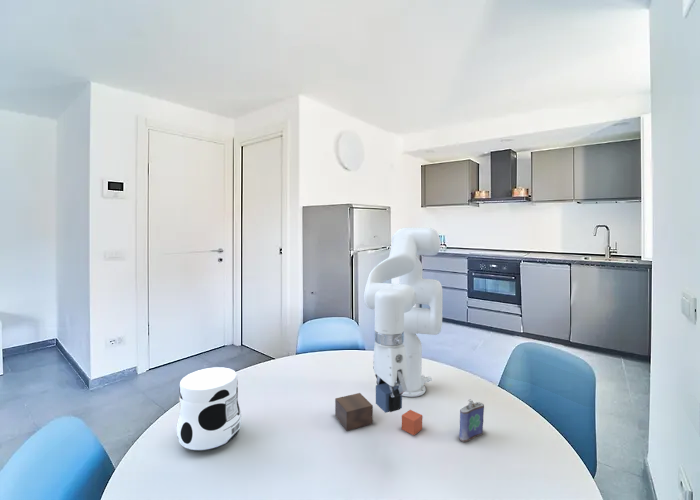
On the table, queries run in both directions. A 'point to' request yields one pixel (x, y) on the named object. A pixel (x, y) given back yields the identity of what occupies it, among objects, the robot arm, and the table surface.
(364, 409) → the walnut base
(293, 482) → the table surface
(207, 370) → the milk container
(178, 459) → the table surface
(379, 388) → the blue cube
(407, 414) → the terracotta cube
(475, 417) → the flask
